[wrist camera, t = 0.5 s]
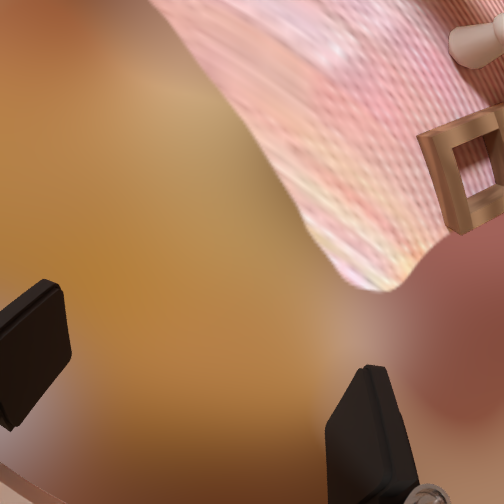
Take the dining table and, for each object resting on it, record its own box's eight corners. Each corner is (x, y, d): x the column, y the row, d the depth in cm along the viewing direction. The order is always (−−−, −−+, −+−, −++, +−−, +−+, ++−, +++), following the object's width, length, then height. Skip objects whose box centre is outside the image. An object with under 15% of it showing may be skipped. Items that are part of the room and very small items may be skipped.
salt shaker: (441, 63, 28) (499, 42, 16) (440, 25, 26) (493, -7, 14) (477, 77, 27) (540, 66, 15) (476, 40, 25) (534, 19, 13)
